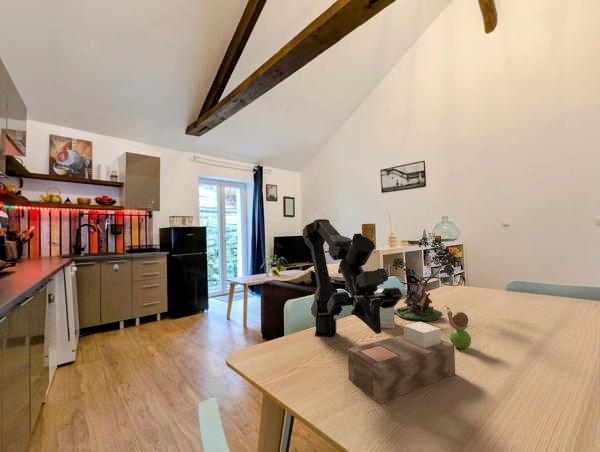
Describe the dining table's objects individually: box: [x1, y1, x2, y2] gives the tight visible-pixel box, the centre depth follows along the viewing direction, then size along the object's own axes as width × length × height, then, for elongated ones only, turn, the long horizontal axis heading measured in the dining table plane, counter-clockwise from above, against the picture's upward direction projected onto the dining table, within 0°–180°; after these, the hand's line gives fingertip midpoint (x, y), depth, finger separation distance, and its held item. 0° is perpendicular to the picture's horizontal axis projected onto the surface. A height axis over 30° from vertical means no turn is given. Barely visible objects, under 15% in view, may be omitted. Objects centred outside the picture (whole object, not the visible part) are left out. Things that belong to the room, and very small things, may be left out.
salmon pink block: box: [360, 346, 399, 363], centre depth 62 cm, size 6×6×7 cm
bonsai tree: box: [392, 237, 460, 322], centre depth 112 cm, size 35×24×32 cm
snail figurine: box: [446, 306, 472, 349], centre depth 81 cm, size 5×6×12 cm
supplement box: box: [374, 288, 396, 329], centre depth 102 cm, size 7×7×13 cm
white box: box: [403, 321, 442, 349], centre depth 69 cm, size 6×6×7 cm
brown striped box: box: [347, 334, 456, 404], centre depth 66 cm, size 24×11×7 cm, turn 117°
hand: (378, 333), depth 63 cm, fingers closed
